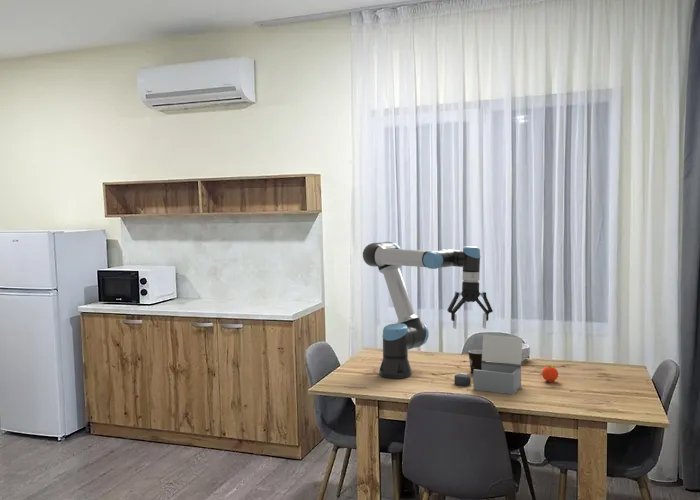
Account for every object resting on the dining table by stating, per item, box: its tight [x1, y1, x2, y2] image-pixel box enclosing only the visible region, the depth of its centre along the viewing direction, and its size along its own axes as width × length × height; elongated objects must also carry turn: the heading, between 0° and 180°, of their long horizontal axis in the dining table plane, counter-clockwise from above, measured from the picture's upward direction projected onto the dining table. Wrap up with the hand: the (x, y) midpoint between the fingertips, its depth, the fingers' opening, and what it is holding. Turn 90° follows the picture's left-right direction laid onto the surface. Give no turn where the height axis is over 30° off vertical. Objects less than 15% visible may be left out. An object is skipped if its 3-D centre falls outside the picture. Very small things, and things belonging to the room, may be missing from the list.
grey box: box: [472, 361, 522, 395], centre depth 268 cm, size 17×13×10 cm
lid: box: [481, 334, 523, 366], centre depth 274 cm, size 17×12×2 cm
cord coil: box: [454, 372, 472, 387], centre depth 275 cm, size 7×7×5 cm
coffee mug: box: [468, 349, 482, 374], centre depth 295 cm, size 12×9×10 cm
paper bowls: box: [521, 342, 531, 363], centre depth 318 cm, size 15×15×8 cm
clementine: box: [541, 365, 559, 383], centre depth 277 cm, size 8×7×7 cm
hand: (469, 328), depth 279 cm, fingers open, 13 cm apart
